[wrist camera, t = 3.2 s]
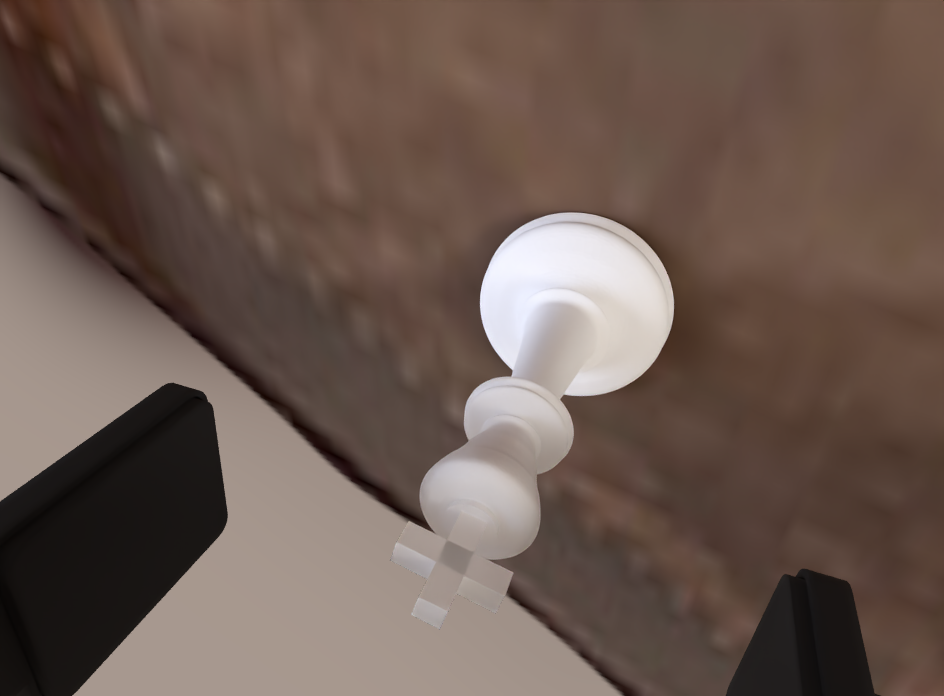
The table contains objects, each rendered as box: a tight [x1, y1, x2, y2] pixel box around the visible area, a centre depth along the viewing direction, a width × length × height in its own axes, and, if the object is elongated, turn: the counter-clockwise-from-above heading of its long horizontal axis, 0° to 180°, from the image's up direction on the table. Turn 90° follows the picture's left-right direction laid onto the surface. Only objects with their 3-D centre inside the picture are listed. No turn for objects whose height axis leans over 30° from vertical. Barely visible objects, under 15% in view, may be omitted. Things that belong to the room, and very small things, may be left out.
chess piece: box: [390, 212, 674, 629], centre depth 13 cm, size 5×5×10 cm
